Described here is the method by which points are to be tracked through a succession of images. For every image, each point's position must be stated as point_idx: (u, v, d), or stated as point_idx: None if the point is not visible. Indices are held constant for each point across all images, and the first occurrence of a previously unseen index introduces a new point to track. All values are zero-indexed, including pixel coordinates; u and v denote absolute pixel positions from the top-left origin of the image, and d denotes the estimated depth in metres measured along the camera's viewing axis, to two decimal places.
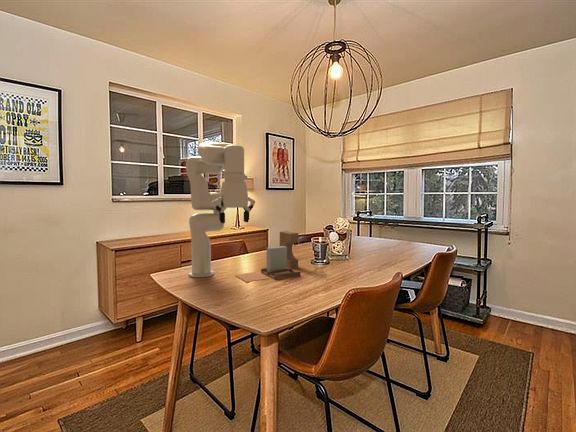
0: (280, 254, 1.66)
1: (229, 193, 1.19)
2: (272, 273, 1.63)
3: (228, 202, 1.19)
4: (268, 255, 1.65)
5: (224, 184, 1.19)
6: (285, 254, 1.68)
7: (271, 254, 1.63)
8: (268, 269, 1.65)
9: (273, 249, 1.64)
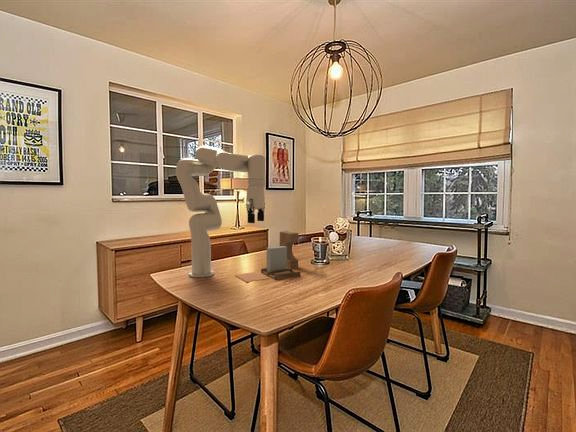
0: (280, 254, 1.66)
1: (258, 196, 1.37)
2: (272, 273, 1.63)
3: (257, 204, 1.37)
4: (268, 255, 1.65)
5: (253, 189, 1.36)
6: (285, 254, 1.68)
7: (271, 254, 1.63)
8: (268, 269, 1.65)
9: (273, 249, 1.64)
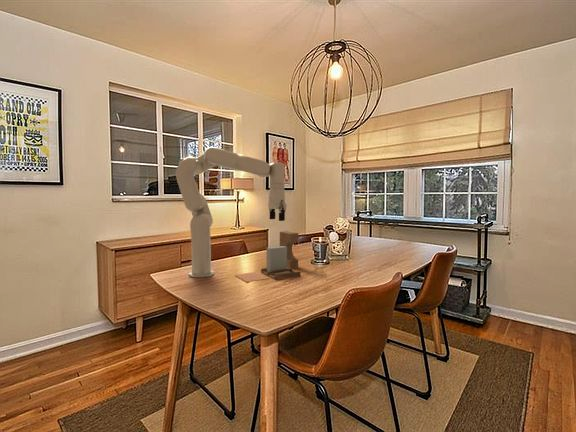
0: (280, 254, 1.66)
1: None
2: (272, 273, 1.63)
3: None
4: (268, 255, 1.65)
5: (283, 192, 1.61)
6: (285, 254, 1.68)
7: (271, 254, 1.63)
8: (268, 269, 1.65)
9: (273, 249, 1.64)
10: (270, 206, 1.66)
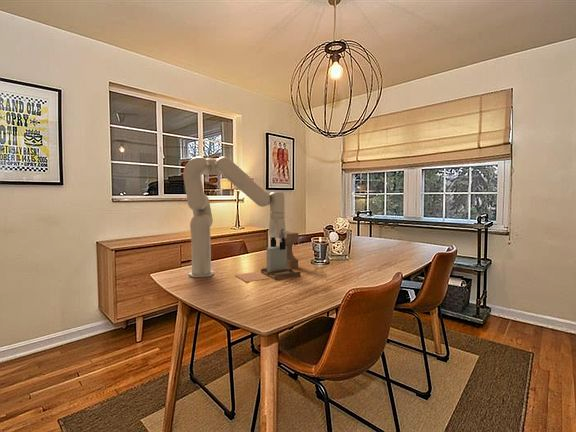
0: (280, 254, 1.66)
1: None
2: (272, 273, 1.63)
3: None
4: (268, 255, 1.65)
5: (283, 221, 1.63)
6: (285, 254, 1.68)
7: (271, 254, 1.63)
8: (268, 269, 1.65)
9: (273, 249, 1.64)
10: (271, 234, 1.67)
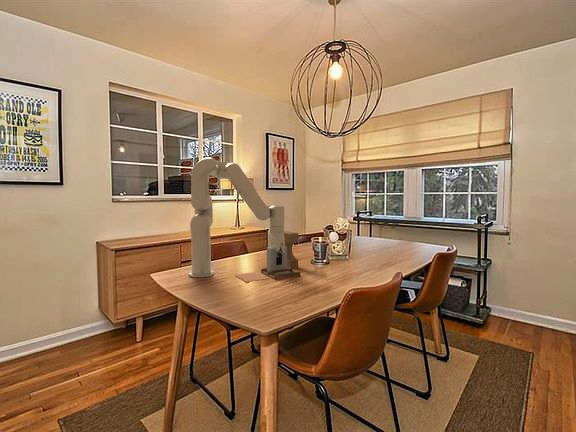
0: None
1: None
2: (272, 273, 1.63)
3: None
4: (268, 255, 1.65)
5: (282, 235, 1.63)
6: (285, 254, 1.68)
7: (271, 254, 1.63)
8: (268, 269, 1.65)
9: (273, 249, 1.64)
10: None
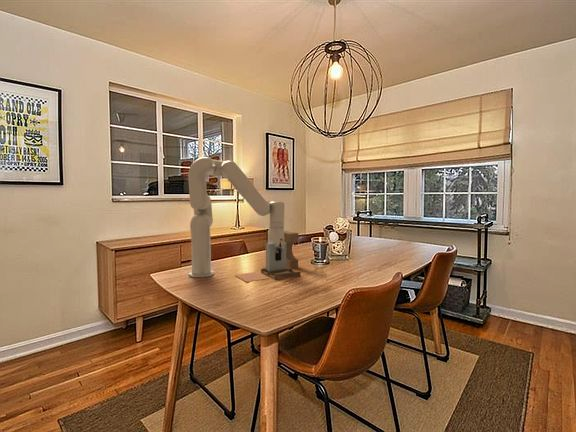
0: None
1: None
2: (272, 273, 1.63)
3: None
4: (267, 251, 1.65)
5: (282, 231, 1.63)
6: (284, 250, 1.68)
7: (270, 250, 1.63)
8: (267, 265, 1.65)
9: (272, 245, 1.64)
10: None
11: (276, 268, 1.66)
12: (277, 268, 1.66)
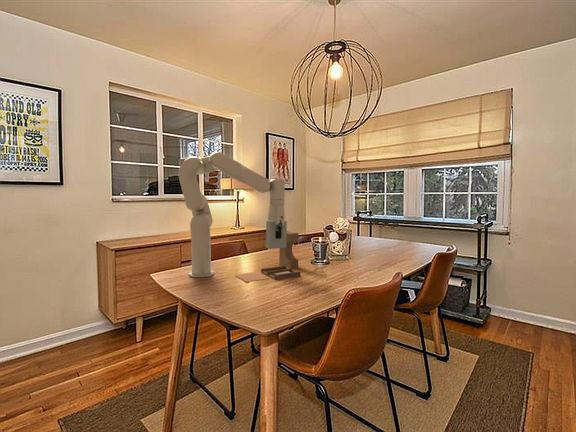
0: None
1: None
2: (272, 273, 1.63)
3: None
4: (268, 228, 1.64)
5: (282, 208, 1.62)
6: (285, 228, 1.67)
7: (271, 227, 1.62)
8: (267, 243, 1.64)
9: (273, 222, 1.63)
10: None
11: (276, 246, 1.65)
12: (277, 246, 1.65)
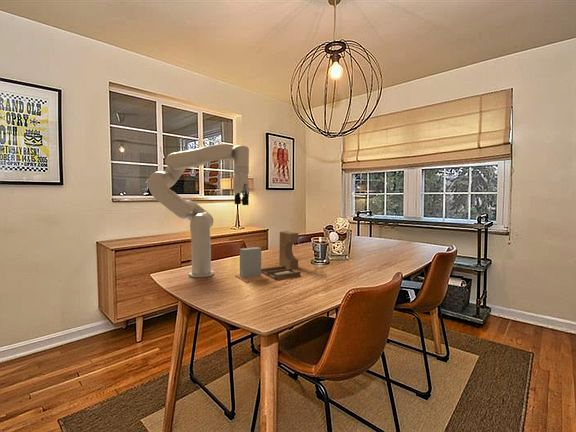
0: (254, 256, 1.59)
1: None
2: (272, 273, 1.63)
3: None
4: (241, 257, 1.57)
5: (246, 175, 1.58)
6: (259, 256, 1.60)
7: (244, 256, 1.56)
8: (241, 271, 1.58)
9: (246, 250, 1.56)
10: (234, 190, 1.62)
11: (250, 275, 1.58)
12: (252, 275, 1.59)
